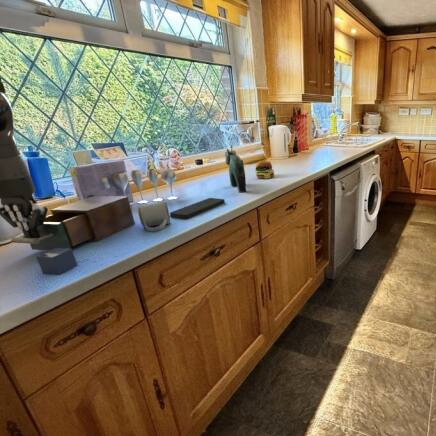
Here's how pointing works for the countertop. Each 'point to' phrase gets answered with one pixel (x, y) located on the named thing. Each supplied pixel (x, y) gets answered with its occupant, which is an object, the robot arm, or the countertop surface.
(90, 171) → the cake pan box
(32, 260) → the countertop surface
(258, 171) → the cheeseburger
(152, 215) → the ceramic mug
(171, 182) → the goblet set
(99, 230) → the cabinet
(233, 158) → the dark green animal figure
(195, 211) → the smart home device
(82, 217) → the drawer
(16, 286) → the countertop surface
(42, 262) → the block
